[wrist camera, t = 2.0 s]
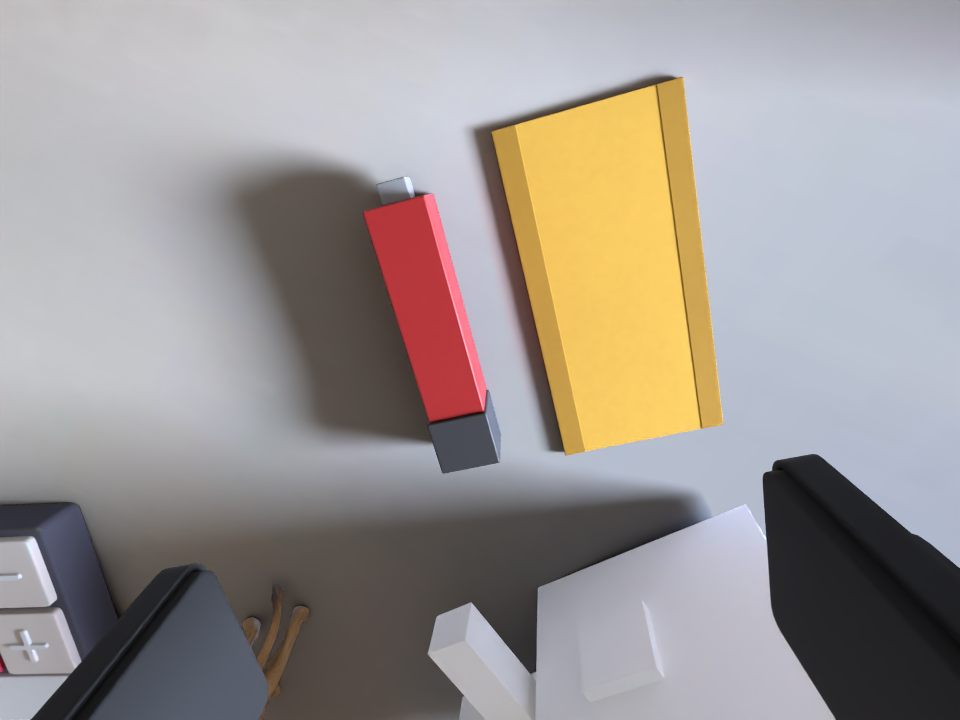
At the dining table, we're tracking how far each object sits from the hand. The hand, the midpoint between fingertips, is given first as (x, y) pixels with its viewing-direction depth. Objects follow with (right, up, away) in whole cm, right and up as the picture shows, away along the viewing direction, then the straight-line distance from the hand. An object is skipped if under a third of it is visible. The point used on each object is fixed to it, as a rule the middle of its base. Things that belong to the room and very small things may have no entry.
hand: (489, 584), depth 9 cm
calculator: (-31, -13, +28) cm, 44 cm away
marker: (-2, +5, +20) cm, 20 cm away
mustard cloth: (+7, +8, +18) cm, 21 cm away
